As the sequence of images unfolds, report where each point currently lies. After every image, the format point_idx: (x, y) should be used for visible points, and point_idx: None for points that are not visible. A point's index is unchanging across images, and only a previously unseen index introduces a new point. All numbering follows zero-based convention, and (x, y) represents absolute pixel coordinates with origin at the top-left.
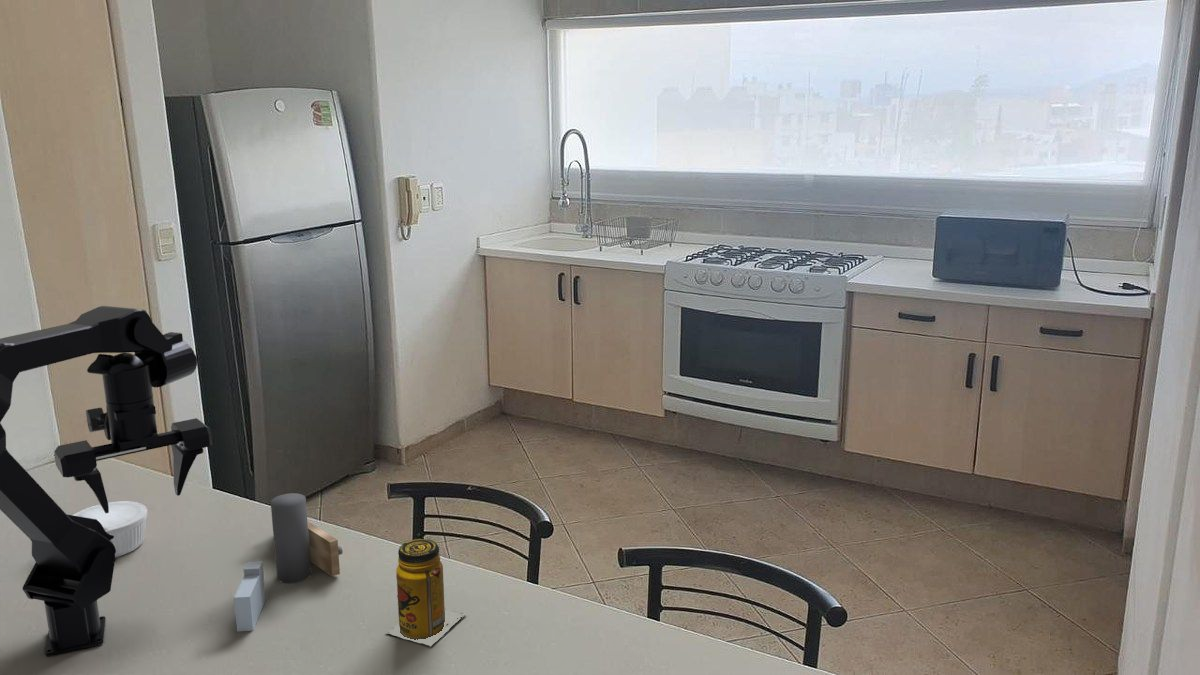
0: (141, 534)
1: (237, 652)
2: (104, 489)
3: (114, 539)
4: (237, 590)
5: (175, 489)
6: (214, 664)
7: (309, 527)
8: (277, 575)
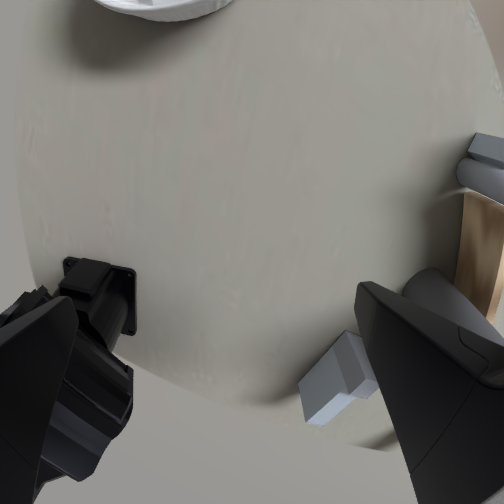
0: None
1: (281, 410)
2: (43, 444)
3: (171, 13)
4: (318, 411)
5: (364, 309)
6: (254, 415)
7: (490, 308)
8: (405, 296)
